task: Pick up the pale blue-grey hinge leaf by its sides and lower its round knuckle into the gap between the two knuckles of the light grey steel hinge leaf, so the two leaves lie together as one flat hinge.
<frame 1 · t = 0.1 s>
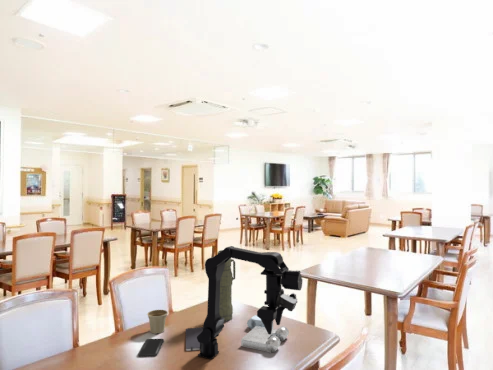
hand: (274, 329, 126), 15 cm above the table, tool pointing down, fingers open, 9 cm apart
blue-grey hinge leaf: (262, 328, 164), on the table
flower pot: (157, 331, 161), on the table
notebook: (200, 340, 153), on the table
phone: (151, 349, 144), on the table
steel hinge leaf: (259, 340, 150), on the table
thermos: (223, 318, 177), on the table
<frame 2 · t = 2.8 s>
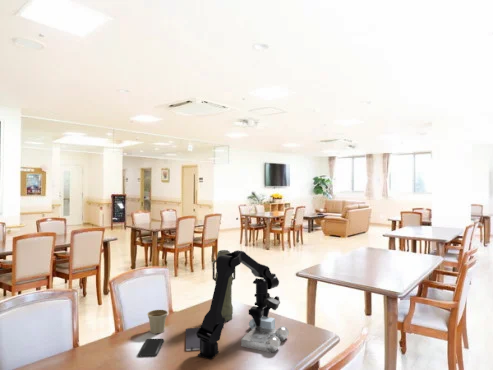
hand: (262, 324, 164), 2 cm above the table, tool pointing down, fingers open, 8 cm apart
nothing on the table moved.
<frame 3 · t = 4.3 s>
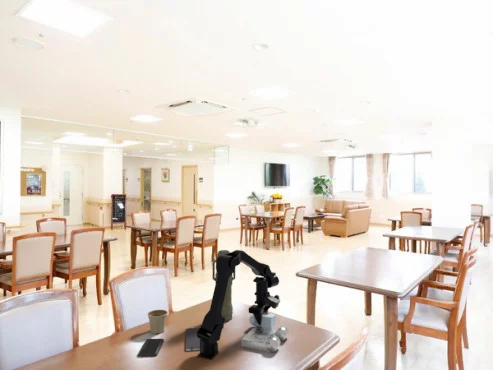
hand: (262, 322, 164), 3 cm above the table, tool pointing down, fingers closed on blue-grey hinge leaf, 5 cm apart
blue-grey hinge leaf: (264, 325, 163), point 2 cm above the table, touching gripper
everything else where it was.
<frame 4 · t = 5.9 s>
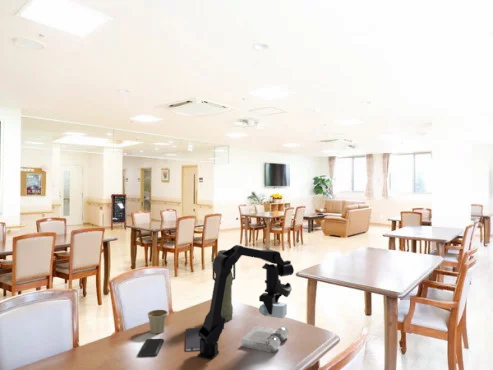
hand: (272, 312, 155), 11 cm above the table, tool pointing down, fingers closed on blue-grey hinge leaf, 5 cm apart
blue-grey hinge leaf: (275, 315, 155), point 10 cm above the table, touching gripper
everything else where it was.
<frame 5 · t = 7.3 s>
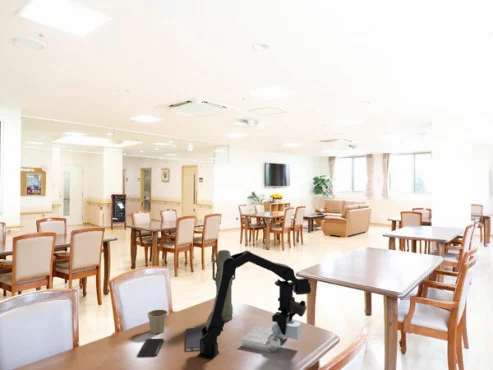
hand: (286, 332, 145), 6 cm above the table, tool pointing down, fingers closed on blue-grey hinge leaf, 5 cm apart
blue-grey hinge leaf: (289, 335, 145), point 5 cm above the table, touching gripper
everything else where it was.
when the fingers open (2 cm above the table, at t = 8.5 s): blue-grey hinge leaf drops 1 cm, on the table.
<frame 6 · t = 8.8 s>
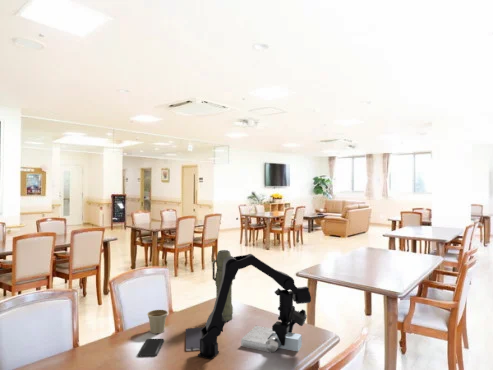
hand: (286, 341, 145), 2 cm above the table, tool pointing down, fingers open, 8 cm apart
blue-grey hinge leaf: (289, 347, 144), on the table
everything else where it was.
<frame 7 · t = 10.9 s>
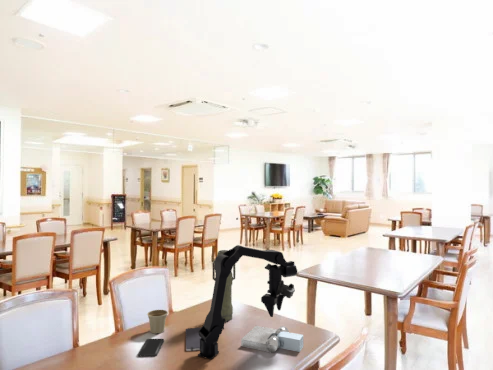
hand: (275, 313, 153), 11 cm above the table, tool pointing down, fingers open, 9 cm apart
nothing on the table moved.
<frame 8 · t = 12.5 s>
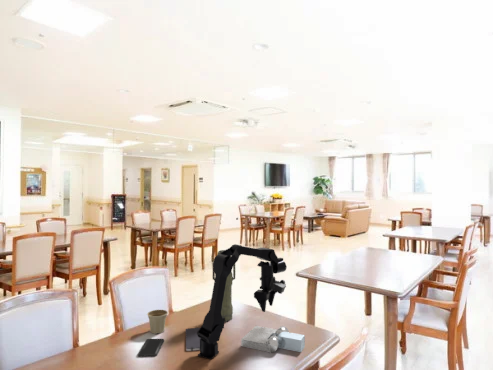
hand: (267, 308, 160), 11 cm above the table, tool pointing down, fingers open, 9 cm apart
at the end: blue-grey hinge leaf 1.2 cm from the target spot on the table beside the steel hinge leaf, on the table; blue-grey hinge leaf tilted 0°; the gripper is holding nothing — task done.
